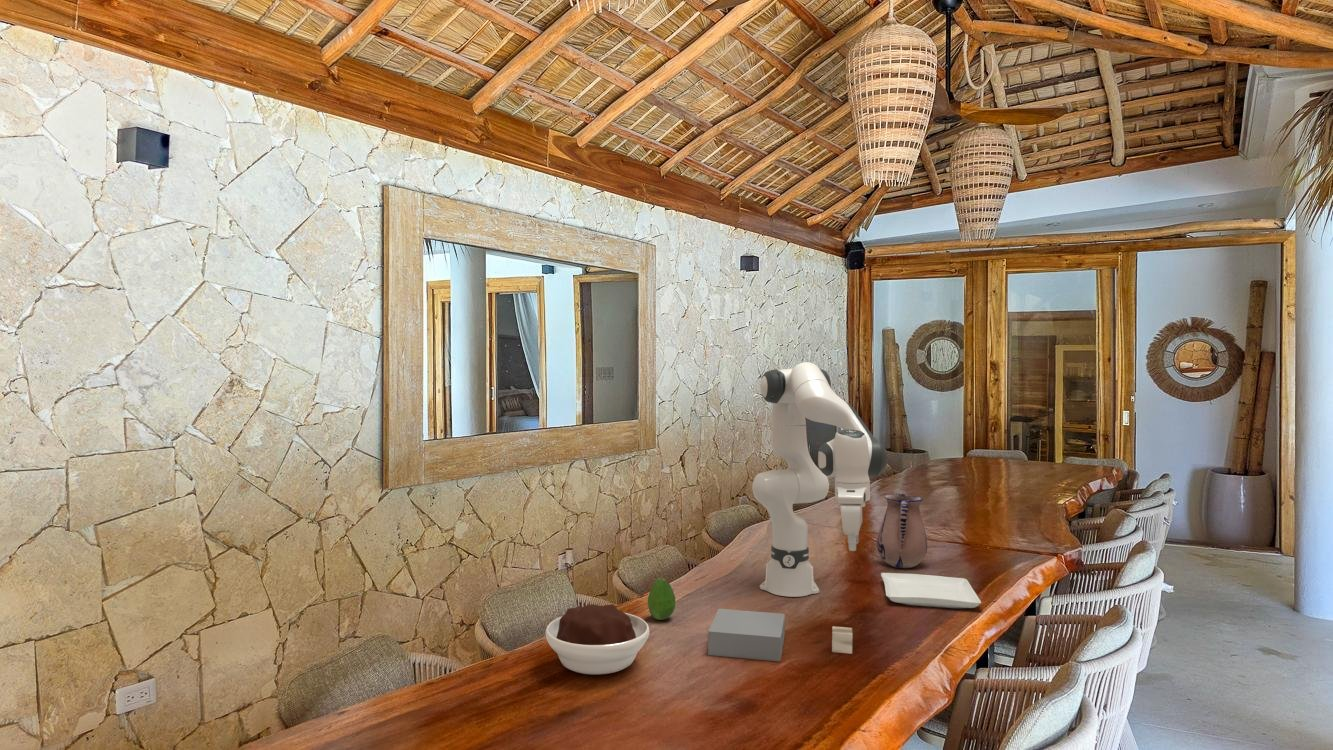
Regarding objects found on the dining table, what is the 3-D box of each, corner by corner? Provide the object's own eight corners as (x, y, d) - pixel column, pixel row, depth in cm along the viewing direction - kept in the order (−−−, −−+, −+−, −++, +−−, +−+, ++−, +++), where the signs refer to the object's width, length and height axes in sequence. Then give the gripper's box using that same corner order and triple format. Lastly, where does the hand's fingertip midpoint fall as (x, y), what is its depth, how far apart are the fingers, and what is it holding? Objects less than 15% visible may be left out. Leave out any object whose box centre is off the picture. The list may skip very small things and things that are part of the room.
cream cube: (832, 645, 206) (832, 626, 206) (851, 646, 205) (852, 627, 205) (832, 652, 201) (832, 632, 201) (852, 654, 200) (852, 634, 200)
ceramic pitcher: (920, 559, 292) (922, 492, 292) (934, 575, 271) (936, 503, 271) (872, 558, 294) (873, 491, 293) (882, 573, 273) (883, 502, 272)
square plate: (982, 614, 232) (982, 601, 232) (886, 607, 238) (886, 595, 238) (966, 588, 259) (966, 576, 259) (880, 582, 264) (880, 570, 264)
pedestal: (718, 630, 216) (718, 608, 216) (784, 635, 212) (785, 613, 212) (708, 654, 198) (708, 631, 198) (780, 661, 194) (780, 637, 194)
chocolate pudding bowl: (596, 639, 208) (597, 582, 208) (670, 663, 192) (670, 602, 192) (523, 668, 189) (523, 605, 188) (598, 698, 173) (598, 630, 173)
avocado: (651, 625, 219) (651, 582, 219) (644, 615, 227) (645, 574, 227) (678, 622, 222) (679, 580, 221) (671, 613, 229) (671, 572, 229)
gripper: (843, 488, 214) (844, 539, 214) (836, 497, 194) (838, 554, 194) (867, 488, 212) (868, 540, 212) (863, 498, 193) (864, 555, 192)
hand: (853, 546), depth 203 cm, fingers open, 8 cm apart
